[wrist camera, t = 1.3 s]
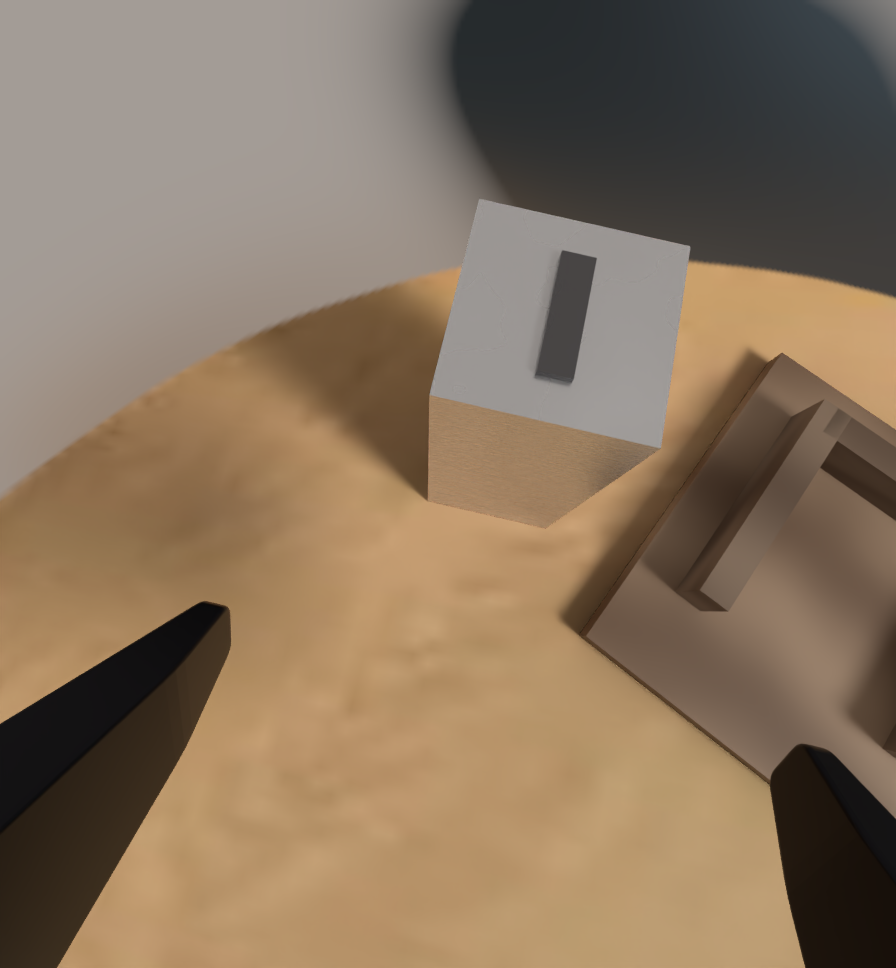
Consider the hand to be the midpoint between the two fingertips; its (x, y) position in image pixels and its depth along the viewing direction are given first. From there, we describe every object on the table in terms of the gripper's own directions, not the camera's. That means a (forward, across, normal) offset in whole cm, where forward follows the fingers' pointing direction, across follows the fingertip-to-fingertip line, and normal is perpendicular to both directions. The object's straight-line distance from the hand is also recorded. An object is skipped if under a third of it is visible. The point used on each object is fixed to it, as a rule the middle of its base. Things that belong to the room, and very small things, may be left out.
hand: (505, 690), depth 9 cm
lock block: (+15, 0, +4) cm, 15 cm away
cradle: (+13, -14, +6) cm, 20 cm away
